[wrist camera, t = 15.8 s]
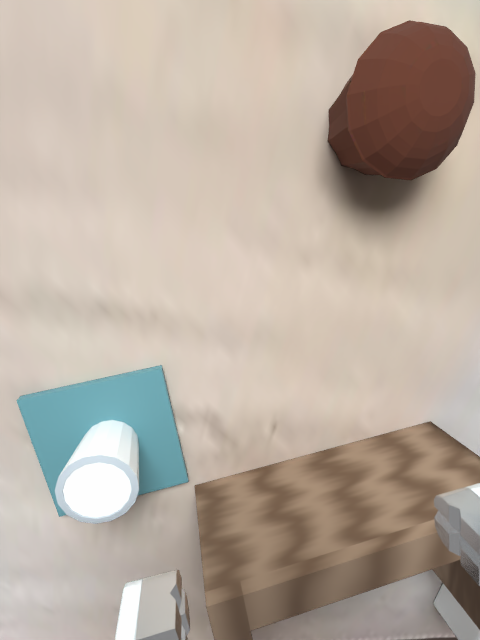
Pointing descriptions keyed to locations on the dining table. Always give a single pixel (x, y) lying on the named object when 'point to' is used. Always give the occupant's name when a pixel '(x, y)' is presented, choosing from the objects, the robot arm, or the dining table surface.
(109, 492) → the shot glass
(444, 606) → the medicine bottle
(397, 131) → the muffin
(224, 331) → the dining table surface
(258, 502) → the box
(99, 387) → the mat
